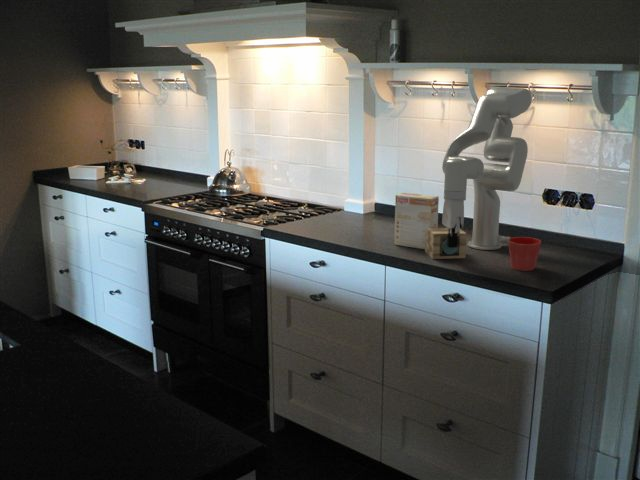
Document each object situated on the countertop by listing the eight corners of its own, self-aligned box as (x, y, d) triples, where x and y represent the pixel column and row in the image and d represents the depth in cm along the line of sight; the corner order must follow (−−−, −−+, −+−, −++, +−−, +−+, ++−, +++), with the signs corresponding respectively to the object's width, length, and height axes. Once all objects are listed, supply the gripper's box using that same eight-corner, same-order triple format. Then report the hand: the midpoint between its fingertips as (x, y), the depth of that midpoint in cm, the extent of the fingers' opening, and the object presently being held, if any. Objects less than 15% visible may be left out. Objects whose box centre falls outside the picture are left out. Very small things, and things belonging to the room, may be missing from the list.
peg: (457, 254, 252) (458, 238, 251) (442, 254, 251) (443, 239, 250) (448, 246, 262) (449, 232, 261) (433, 247, 262) (434, 232, 260)
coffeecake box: (437, 246, 270) (439, 196, 265) (429, 250, 264) (431, 198, 260) (402, 241, 278) (403, 192, 274) (393, 245, 272) (395, 194, 268)
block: (465, 258, 253) (466, 233, 251) (432, 258, 252) (433, 234, 250) (456, 251, 263) (457, 227, 261) (425, 252, 261) (426, 228, 259)
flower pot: (501, 269, 239) (503, 241, 237) (512, 262, 248) (514, 235, 246) (533, 274, 234) (535, 245, 231) (543, 266, 242) (545, 239, 240)
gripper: (437, 191, 251) (435, 242, 255) (451, 199, 237) (448, 252, 241) (458, 191, 252) (455, 241, 256) (472, 198, 238) (469, 251, 242)
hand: (452, 246), depth 249 cm, fingers closed
